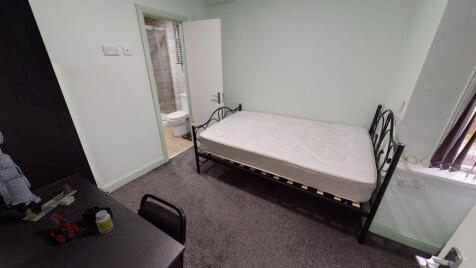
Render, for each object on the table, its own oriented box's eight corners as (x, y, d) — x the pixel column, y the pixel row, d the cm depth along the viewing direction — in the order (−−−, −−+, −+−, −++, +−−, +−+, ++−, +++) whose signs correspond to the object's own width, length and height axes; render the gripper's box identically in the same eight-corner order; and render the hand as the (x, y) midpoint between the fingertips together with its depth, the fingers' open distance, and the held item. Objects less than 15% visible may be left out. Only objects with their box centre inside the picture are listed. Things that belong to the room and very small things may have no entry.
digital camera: (115, 215, 90) (111, 205, 87) (108, 224, 85) (104, 213, 82) (94, 216, 89) (89, 206, 86) (86, 225, 84) (81, 214, 81)
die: (61, 207, 95) (58, 201, 93) (68, 201, 99) (66, 195, 97) (68, 207, 95) (66, 201, 93) (75, 201, 98) (73, 196, 97)
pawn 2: (61, 194, 102) (58, 186, 100) (68, 190, 105) (64, 182, 103) (68, 194, 102) (64, 187, 99) (74, 190, 105) (70, 182, 103)
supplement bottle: (116, 225, 84) (111, 210, 80) (106, 235, 79) (99, 219, 76) (107, 223, 86) (102, 207, 82) (97, 232, 81) (90, 216, 77)
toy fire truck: (65, 246, 74) (55, 229, 71) (50, 236, 79) (40, 219, 75) (83, 233, 80) (76, 216, 76) (68, 224, 85) (60, 207, 81)
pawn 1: (26, 219, 86) (20, 210, 83) (35, 213, 89) (30, 204, 87) (33, 220, 85) (28, 211, 83) (41, 213, 89) (37, 205, 87)
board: (22, 221, 86) (21, 219, 85) (66, 191, 106) (65, 189, 106) (37, 222, 85) (36, 220, 85) (78, 191, 106) (77, 190, 105)
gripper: (-8, 195, 78) (7, 218, 83) (22, 197, 77) (36, 219, 82) (12, 185, 84) (25, 206, 89) (40, 186, 83) (51, 208, 88)
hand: (31, 212), depth 86 cm, fingers open, 7 cm apart
